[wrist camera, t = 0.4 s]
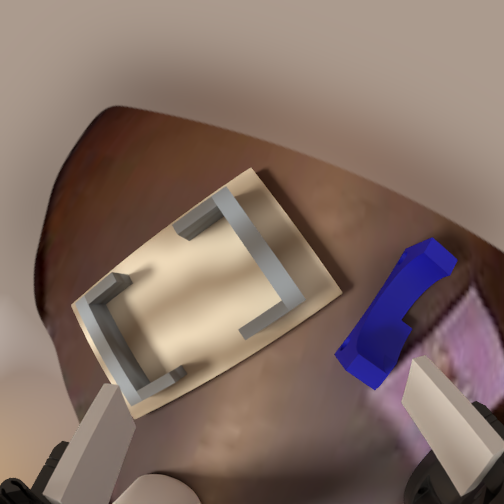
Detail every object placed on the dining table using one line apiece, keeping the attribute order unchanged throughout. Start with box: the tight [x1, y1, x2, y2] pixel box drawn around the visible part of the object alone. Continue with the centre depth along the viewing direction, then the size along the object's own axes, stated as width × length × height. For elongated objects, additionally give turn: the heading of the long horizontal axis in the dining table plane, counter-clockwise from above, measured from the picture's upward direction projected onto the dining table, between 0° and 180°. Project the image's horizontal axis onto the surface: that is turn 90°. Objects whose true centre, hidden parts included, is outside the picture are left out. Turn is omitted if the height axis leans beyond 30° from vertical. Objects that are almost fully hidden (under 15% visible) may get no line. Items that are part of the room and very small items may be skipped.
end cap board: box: [71, 168, 342, 419], centre depth 25 cm, size 14×24×4 cm, turn 124°
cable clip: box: [334, 238, 457, 390], centre depth 22 cm, size 12×4×6 cm, turn 143°
